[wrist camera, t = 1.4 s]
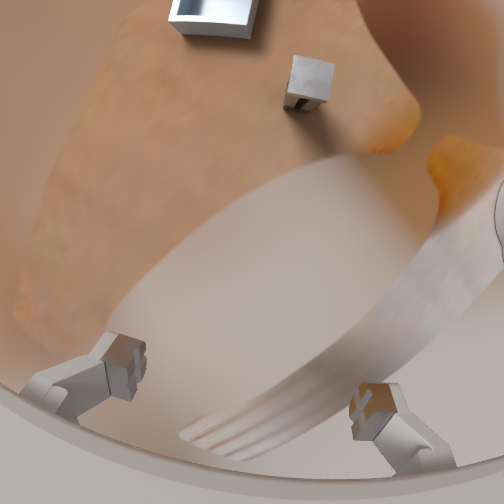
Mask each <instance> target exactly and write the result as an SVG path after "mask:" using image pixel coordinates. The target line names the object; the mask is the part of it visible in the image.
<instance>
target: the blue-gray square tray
mask: <svg viewBox="0 0 504 504" xmlns="http://www.w3.org/2000/svg"><path fill="white" fill-rule="evenodd" d="M258 2H259V0H174V1H173V5H172V8H171V12H170V16H169V20H168V22H169V23H170V24H171V25H172V26H174V27H175V28H176V29H177V30H178V31H179V32H180V33H181V34H190V35H211V36H224V37H235V38H244V39H251V35H252V30H253V25H254V21H255V16H256V12H257V7H258Z"/></svg>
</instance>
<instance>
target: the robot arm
mask: <svg viewBox="0 0 504 504" xmlns="http://www.w3.org/2000/svg"><path fill="white" fill-rule="evenodd" d="M495 224H496V230H497V234H498V237H499V240H500V242H501V244H502V247H503V260H504V182H503V184H502V186H501V189H500V192H499V195H498V198H497V203H496V211H495ZM145 351H146V343H145V342H144V341H141V340H138V339H135V338H132V337H128V336H125V335H122V334H118V333H116V332H113V331H109V330H108V331H106V332H105V333H104V335H103V336H102V337H101V339H100V340H99V341H98V343H97V344H96V345H95V347H94V348H93V349H92V351H91V352H90V353H89V355H88V356H87V355H83V356H80V357H77V358H75V359H73V360H70V361H67V362H65V363H62V364H59V365H57V366H54V367H51V368H49V369H46V370H43V371H41V372H38V373H35V374H34V376H33V377H32V378H31V379H30V381H29V382H28V383H27V384H26V386H25V387H24V388H23V389H22V391H21V392H20V393H19V394H18V393H16V392H14V391H13V390H11V389H9V388H8V387H6V386H5V385H3V384H1V383H0V504H504V455H503V456H500V457H497V458H493V459H490V460H486V461H482V462H478V463H474V464H470V465H466V466H462V467H457V466H456V463H455V460H454V457H453V454H452V451H451V449H450V446H449V444H447V443H446V442H445V441H444V440H443V439H442V438H441V437H439V436H438V435H437V434H436V433H435V432H434V431H433V430H432V429H430V428H429V427H428V426H427V425H426V424H424V422H422V421H421V420H420V419H419V418H418V417H417V416H416V415H414V414H413V413H410V412H409V410H408V407H407V404H406V401H405V398H404V395H403V393H402V390H401V387H400V385H399V384H398V383H381V382H365V381H364V382H362V383H361V384H360V386H359V388H358V389H359V393H358V394H356V395H354V396H353V398H352V400H351V403H350V407H349V416H350V419H351V420H352V421H353V422H354V424H353V426H352V427H351V428H352V434H353V440H360V441H373V443H374V444H375V445H376V447H377V448H378V449H379V451H380V452H381V453H382V455H383V456H384V457H385V458H386V460H387V461H388V462H389V464H390V465H391V466H392V467H393V469H394V470H395V471H396V474H395V475H393V476H392V477H387V478H373V479H346V480H345V479H344V480H343V479H342V480H341V479H340V480H337V479H303V478H288V477H277V476H267V475H258V474H251V473H244V472H238V471H231V470H226V469H220V468H215V467H210V466H205V465H201V464H196V463H192V462H187V461H183V460H179V459H176V458H172V457H168V456H164V455H160V454H157V453H154V452H151V451H147V450H144V449H141V448H138V447H135V446H132V445H129V444H126V443H123V442H121V441H118V440H115V439H112V438H110V437H107V436H104V435H102V434H99V433H97V432H94V431H92V430H90V429H87V428H85V427H83V426H80V424H79V422H78V419H77V417H78V416H80V415H81V414H83V413H84V412H86V411H88V410H89V409H91V408H93V407H94V406H96V405H98V404H99V403H101V402H103V401H104V400H106V399H107V398H109V397H110V395H111V396H114V397H117V398H120V399H123V400H126V401H130V402H131V401H132V399H133V397H134V395H135V393H136V391H137V383H139V382H141V381H142V379H143V377H144V374H145V370H146V363H147V360H146V357H145V356H144V353H145Z"/></svg>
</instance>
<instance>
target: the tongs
mask: <svg viewBox="0 0 504 504" xmlns="http://www.w3.org/2000/svg"><path fill="white" fill-rule="evenodd" d="M334 67H335V64H332V63H328V62H324V61H320V60H316V59H311V58H307V57H302V56H297V55H294V58H293V63H292V68H291V74H290V79H289V82H288V85H287V90H286V95H285V100H284V106H283V109H287V110H293V109H294V106H295V104H296V103H297V102H298V100H299V99H300V98H301V99H300V105H299V110H298V112H302V113H306V114H308V113H309V112H310V111H311V110H312V109H314V108H315V107H317V106H318V105H320V104H321V103H326V102H328V101H329V95H330V90H331V84H332V79H333V73H334Z"/></svg>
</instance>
